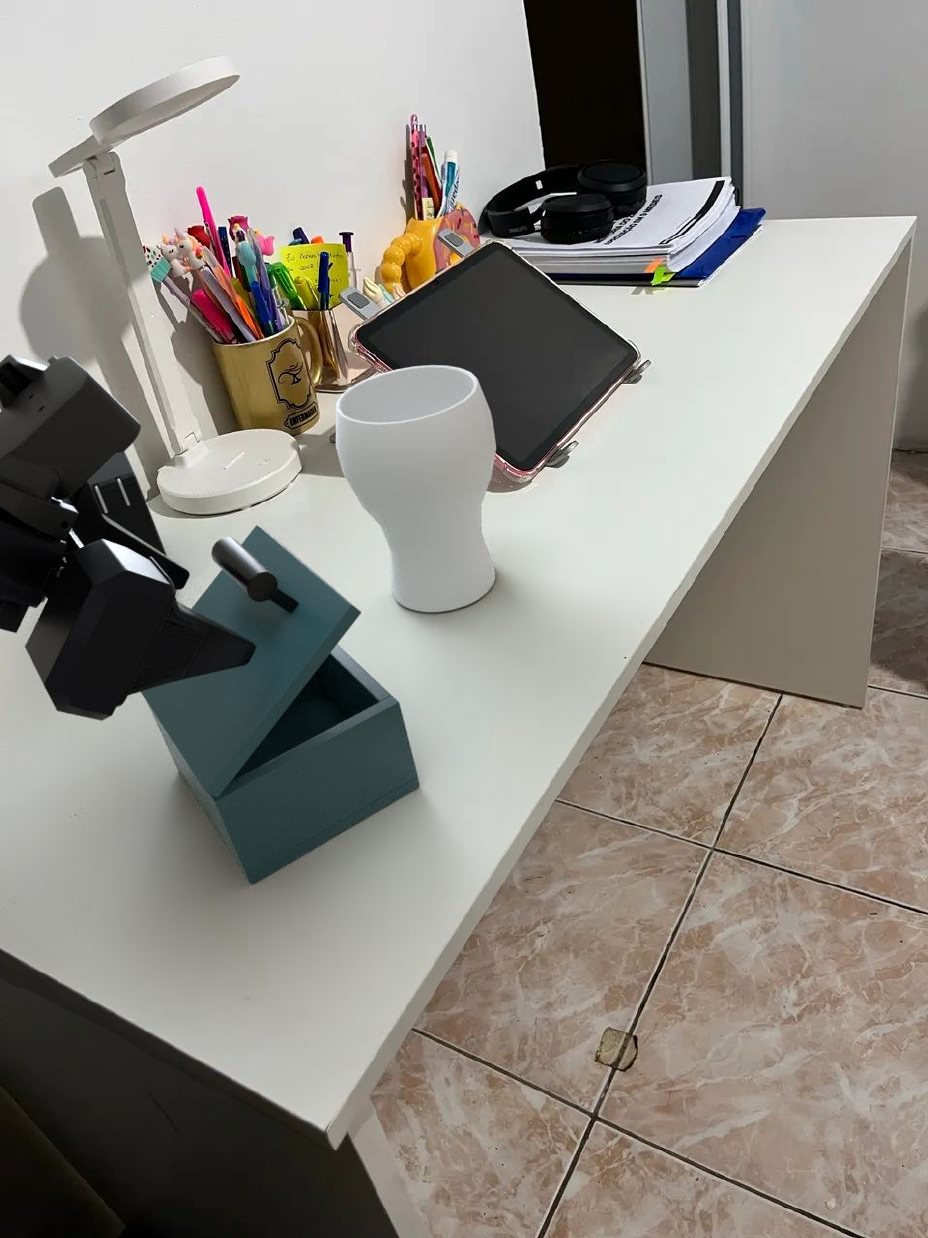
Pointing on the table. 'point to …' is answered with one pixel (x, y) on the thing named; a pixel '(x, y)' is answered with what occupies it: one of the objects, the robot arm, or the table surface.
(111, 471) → the electronic device
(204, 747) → the box lid
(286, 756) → the teal box
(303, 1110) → the table surface
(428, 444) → the white vase
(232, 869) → the table surface
